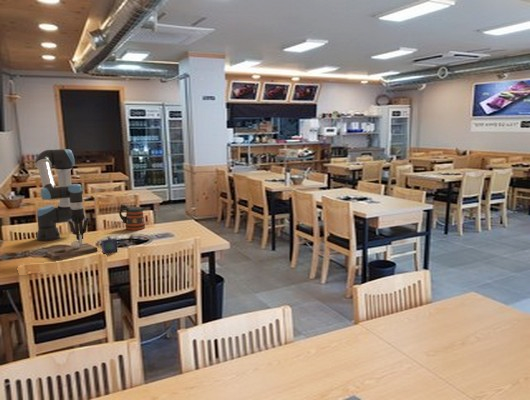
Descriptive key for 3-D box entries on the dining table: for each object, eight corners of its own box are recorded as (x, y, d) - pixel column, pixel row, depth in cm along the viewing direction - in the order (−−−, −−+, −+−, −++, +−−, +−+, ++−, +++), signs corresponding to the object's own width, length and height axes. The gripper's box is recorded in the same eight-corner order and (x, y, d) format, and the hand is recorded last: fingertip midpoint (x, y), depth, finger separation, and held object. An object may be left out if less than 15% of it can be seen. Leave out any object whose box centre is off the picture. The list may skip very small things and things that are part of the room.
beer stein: (119, 231, 317) (118, 206, 314) (120, 227, 331) (118, 203, 328) (145, 229, 323) (143, 204, 319) (145, 225, 336) (143, 201, 333)
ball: (74, 249, 265) (68, 245, 262) (79, 242, 267) (72, 238, 263) (77, 250, 262) (71, 247, 258) (82, 244, 263) (76, 240, 260)
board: (45, 255, 258) (45, 251, 257) (87, 246, 276) (86, 243, 276) (55, 260, 247) (54, 256, 246) (97, 251, 265) (97, 247, 265)
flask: (102, 254, 259) (101, 237, 257) (101, 253, 261) (100, 236, 260) (117, 252, 263) (116, 236, 261) (117, 251, 265) (116, 235, 264)
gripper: (68, 210, 254) (72, 247, 258) (89, 207, 263) (92, 243, 267) (64, 209, 259) (67, 245, 263) (84, 206, 268) (87, 241, 272)
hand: (80, 244), depth 265 cm, fingers closed
